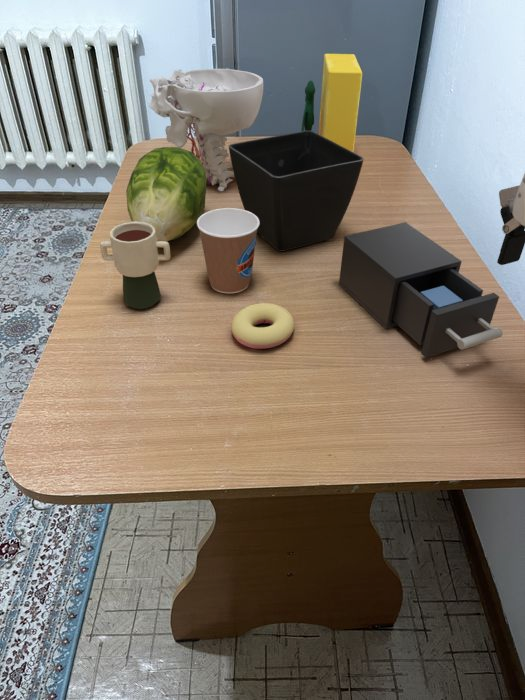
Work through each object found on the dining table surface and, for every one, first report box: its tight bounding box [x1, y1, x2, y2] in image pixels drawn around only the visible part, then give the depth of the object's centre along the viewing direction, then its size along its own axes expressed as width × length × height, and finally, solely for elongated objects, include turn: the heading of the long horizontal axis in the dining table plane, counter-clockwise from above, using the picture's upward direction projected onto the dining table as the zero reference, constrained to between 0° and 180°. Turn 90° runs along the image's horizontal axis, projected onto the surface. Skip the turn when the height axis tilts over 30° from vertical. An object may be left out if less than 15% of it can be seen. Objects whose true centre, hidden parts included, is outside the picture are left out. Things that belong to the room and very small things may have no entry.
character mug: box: [99, 221, 171, 309], centre depth 92 cm, size 11×7×13 cm, turn 92°
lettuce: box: [125, 146, 208, 242], centre depth 110 cm, size 15×27×16 cm, turn 177°
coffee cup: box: [196, 207, 260, 295], centre depth 96 cm, size 10×10×12 cm
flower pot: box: [228, 130, 365, 252], centre depth 110 cm, size 19×19×17 cm
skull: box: [149, 68, 264, 192], centre depth 127 cm, size 25×19×23 cm
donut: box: [231, 302, 295, 350], centre depth 88 cm, size 10×5×9 cm
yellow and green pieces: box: [300, 53, 363, 152], centre depth 136 cm, size 18×12×24 cm
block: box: [420, 286, 463, 311], centre depth 87 cm, size 4×4×5 cm
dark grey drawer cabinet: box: [338, 222, 462, 330], centre depth 95 cm, size 15×13×10 cm
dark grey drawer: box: [392, 268, 503, 359], centre depth 86 cm, size 18×11×8 cm, turn 25°
